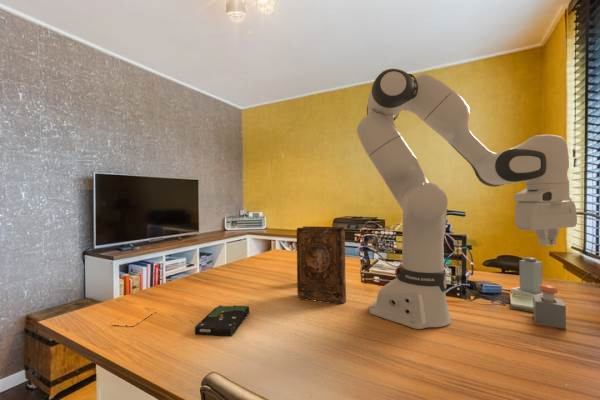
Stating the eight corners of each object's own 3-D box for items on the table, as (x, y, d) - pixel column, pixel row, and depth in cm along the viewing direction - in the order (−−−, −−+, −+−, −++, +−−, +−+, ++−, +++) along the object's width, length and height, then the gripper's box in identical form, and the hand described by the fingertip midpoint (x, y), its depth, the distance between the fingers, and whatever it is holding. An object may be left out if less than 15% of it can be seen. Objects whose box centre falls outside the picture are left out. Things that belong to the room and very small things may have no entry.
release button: (540, 308, 75) (540, 287, 75) (539, 303, 78) (538, 283, 78) (558, 311, 73) (558, 289, 73) (556, 306, 76) (556, 285, 76)
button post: (535, 323, 75) (535, 301, 75) (533, 315, 80) (533, 294, 80) (566, 329, 71) (565, 305, 71) (561, 320, 76) (561, 298, 76)
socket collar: (510, 293, 98) (510, 288, 98) (526, 290, 100) (525, 285, 100) (536, 301, 90) (536, 295, 90) (552, 297, 93) (552, 292, 93)
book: (347, 299, 95) (346, 227, 95) (343, 305, 90) (342, 228, 90) (303, 293, 101) (302, 226, 101) (297, 299, 96) (296, 227, 96)
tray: (511, 308, 85) (511, 303, 85) (510, 298, 93) (509, 293, 93) (554, 315, 79) (554, 310, 79) (549, 304, 87) (549, 299, 87)
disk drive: (232, 339, 71) (249, 314, 86) (232, 328, 71) (249, 305, 85) (194, 337, 72) (217, 313, 87) (194, 326, 72) (217, 304, 87)
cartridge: (519, 294, 97) (519, 257, 97) (528, 292, 98) (527, 256, 98) (534, 298, 93) (533, 260, 93) (542, 296, 94) (542, 258, 94)
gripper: (556, 194, 82) (557, 240, 82) (509, 195, 75) (510, 246, 75) (584, 194, 76) (585, 244, 76) (535, 195, 69) (536, 249, 69)
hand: (547, 245), depth 75 cm, fingers closed
